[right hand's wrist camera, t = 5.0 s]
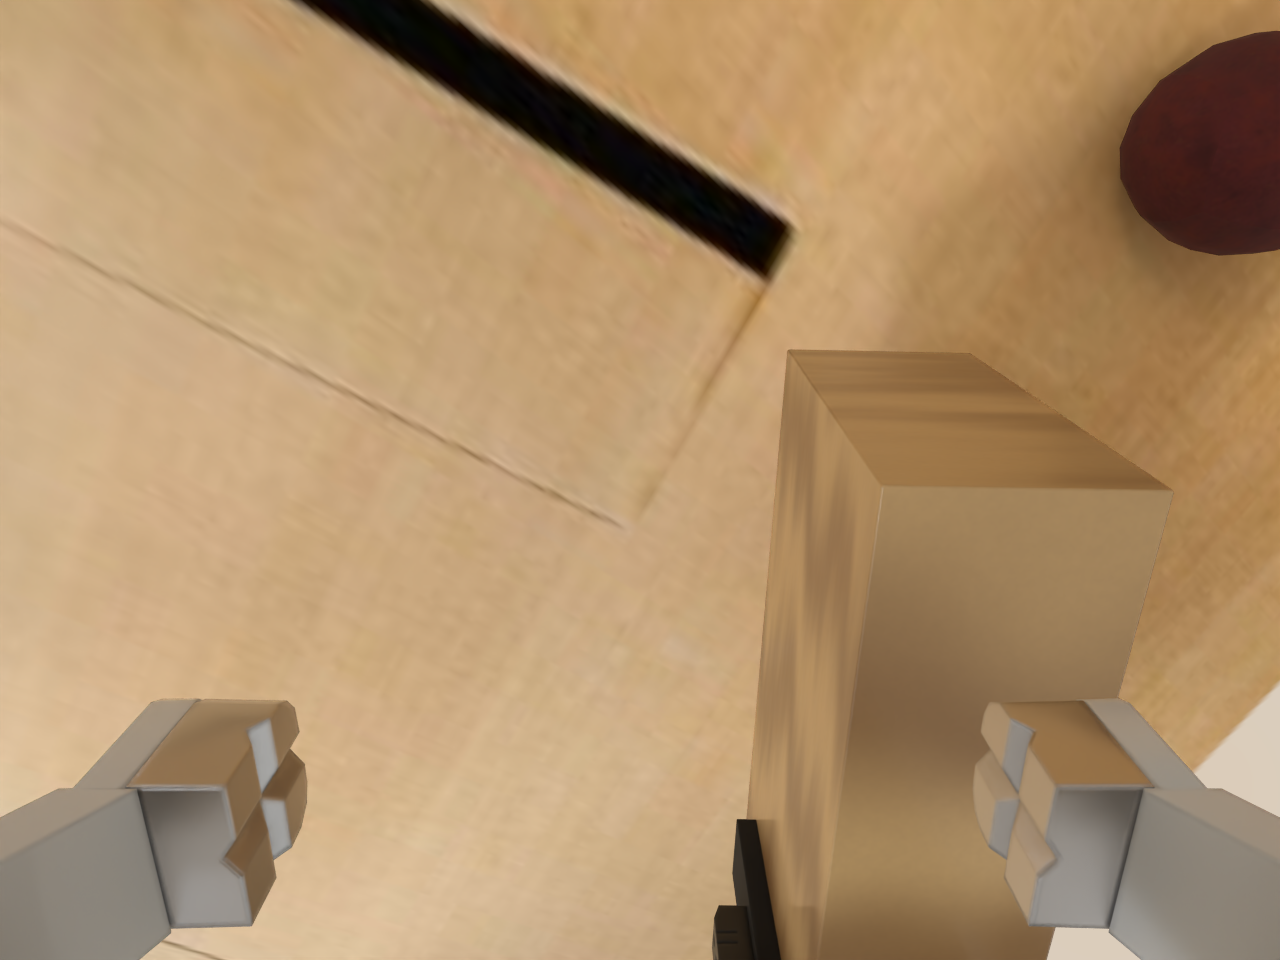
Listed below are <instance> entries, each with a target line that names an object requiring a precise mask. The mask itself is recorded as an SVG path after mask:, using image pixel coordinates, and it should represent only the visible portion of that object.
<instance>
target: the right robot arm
mask: <svg viewBox="0 0 1280 960" xmlns="http://www.w3.org/2000/svg"><path fill="white" fill-rule="evenodd" d="M298 734H299V727H298V722H297V717H296V712H295V708H294V707H293V706H292V705H291V704H290V703H289V702H288V701H276V700H229V699H204V700H201V699H161V700H157V701H154V702H151V703H150V704H149V705H148V706H147V707H146V708H145V709H144V710H143V712H142V713H141V714H140V715H139V716H138V717H137V718H136V719H135V720H134V722H133V723H132V724H131V725H130V726H129V727H128V728H127V729H126V730H125V731H124V733H123V734H122V735H121V736H120V737H119V738H118V739H117V740H116V741H115V742H114V744H113V745H112V746H111V747H110V748H109V749H108V750H107V751H106V752H105V753H104V755H103V756H102V757H101V758H100V759H99V760H98V761H97V762H96V763H95V764H94V766H93V767H92V768H91V769H90V770H89V771H88V772H87V773H86V774H85V776H84V777H83V778H82V779H81V780H80V781H79V782H78V783H77V784H76V785H75V787H74V788H73V789H57V790H55V791H53V792H51V793H49V794H47V795H45V796H43V797H41V798H39V799H37V800H35V801H33V802H31V803H29V804H27V805H24V806H22V807H20V808H18V809H16V810H14V811H12V812H10V813H8V814H6V815H4V816H2V817H0V960H139V959H141V958H142V957H143V956H144V955H145V954H147V953H148V952H149V951H150V950H151V949H153V948H154V947H155V946H156V945H157V944H159V943H160V942H161V941H162V940H163V939H165V938H166V937H167V936H168V935H169V934H171V929H173V928H208V927H242V926H252V924H253V922H254V921H255V919H256V917H257V915H258V913H259V911H260V909H261V907H262V905H263V903H264V901H265V899H266V897H267V895H268V893H269V891H270V889H271V887H272V885H273V883H274V881H275V879H276V873H275V867H274V861H273V860H274V859H276V858H277V857H279V856H280V855H281V854H283V853H284V852H286V851H287V850H289V849H290V848H291V847H292V846H293V844H294V842H295V839H296V837H297V835H298V833H299V831H300V829H301V826H302V822H303V817H304V813H305V808H306V804H307V777H306V770H305V764H304V763H303V762H302V761H301V760H300V759H299V758H298V757H297V756H296V755H295V754H294V752H293V751H292V750H291V749H290V747H291V746H292V744H293V742H294V741H295V739H296V737H297V735H298ZM981 734H982V735H983V737H984V739H985V740H986V742H987V744H988V746H989V747H990V749H989V750H988V752H987V753H986V754H985V755H984V756H983V757H982V758H981V759H980V760H979V761H978V762H977V763H976V764H975V771H974V780H973V799H974V810H975V815H976V818H977V822H978V825H979V828H980V831H981V833H982V835H983V837H984V839H985V841H986V844H987V846H988V847H989V848H990V849H992V850H993V851H994V852H996V853H997V854H999V855H1000V856H1001V857H1003V858H1004V859H1006V860H1007V861H1006V867H1005V873H1004V879H1005V881H1006V883H1007V885H1008V887H1009V889H1010V891H1011V893H1012V895H1013V897H1014V899H1015V901H1016V903H1017V905H1018V907H1019V909H1020V911H1021V912H1022V914H1023V916H1024V918H1025V920H1026V922H1027V924H1028V926H1036V927H1072V928H1107V929H1109V933H1110V934H1111V935H1112V936H1114V937H1115V938H1116V939H1117V940H1118V941H1120V942H1121V943H1122V944H1123V945H1124V946H1126V947H1127V948H1128V949H1129V950H1130V951H1132V952H1133V953H1134V954H1135V955H1136V956H1137V957H1139V958H1140V959H1141V960H1280V817H1278V816H1276V815H1274V814H1272V813H1270V812H1267V811H1266V810H1263V809H1261V808H1259V807H1257V806H1255V805H1253V804H1251V803H1249V802H1247V801H1245V800H1243V799H1241V798H1239V797H1237V796H1235V795H1233V794H1231V793H1229V792H1227V791H1225V790H1223V789H1207V788H1206V787H1205V785H1204V784H1203V783H1202V782H1201V781H1200V780H1199V779H1198V778H1197V777H1196V775H1195V774H1194V773H1193V772H1192V771H1191V770H1190V769H1189V768H1188V767H1187V766H1186V764H1185V763H1184V762H1183V761H1182V760H1181V759H1180V758H1179V757H1178V756H1177V755H1176V753H1175V752H1174V751H1173V750H1172V749H1171V748H1170V747H1169V746H1168V745H1167V743H1166V742H1165V741H1164V740H1163V739H1162V738H1161V737H1160V736H1159V735H1158V734H1157V732H1156V731H1155V730H1154V729H1153V728H1152V727H1151V726H1150V725H1149V724H1148V723H1147V721H1146V720H1145V719H1144V718H1143V717H1142V716H1141V715H1140V714H1139V713H1138V712H1137V710H1136V709H1135V708H1134V707H1133V706H1132V705H1131V704H1130V703H1128V702H1126V701H1124V700H1122V699H1120V698H1110V699H1080V700H1075V701H1015V702H989V704H988V706H987V708H986V710H985V712H984V715H983V721H982V726H981Z"/></svg>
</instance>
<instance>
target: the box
mask: <svg viewBox="0 0 1280 960" xmlns="http://www.w3.org/2000/svg"><path fill="white" fill-rule="evenodd" d="M1173 494H1174V492H1173V490H1172V489H1170V488H1169V487H1167V486H1166V485H1164V484H1163V483H1161V482H1160V481H1158V480H1157V479H1155V478H1154V477H1152V476H1151V475H1149V474H1148V473H1146V472H1145V471H1143V470H1142V469H1141V468H1139V467H1138V466H1136V465H1135V464H1133V463H1132V462H1130V461H1129V460H1127V459H1126V458H1124V457H1123V456H1121V455H1120V454H1118V453H1117V452H1115V451H1114V450H1112V449H1111V448H1109V447H1108V446H1106V445H1105V444H1103V443H1102V442H1101V441H1099V440H1098V439H1096V438H1095V437H1093V436H1092V435H1090V434H1089V433H1087V432H1086V431H1084V430H1083V429H1081V428H1080V427H1078V426H1077V425H1075V424H1074V423H1072V422H1071V421H1069V420H1068V419H1066V418H1065V417H1063V416H1062V415H1061V414H1059V413H1058V412H1056V411H1055V410H1053V409H1052V408H1050V407H1049V406H1047V405H1046V404H1044V403H1043V402H1041V401H1040V400H1038V399H1037V398H1035V397H1034V396H1032V395H1031V394H1029V393H1028V392H1026V391H1025V390H1024V389H1022V388H1021V387H1019V386H1018V385H1016V384H1015V383H1013V382H1012V381H1010V380H1009V379H1007V378H1006V377H1004V376H1003V375H1001V374H1000V373H998V372H997V371H995V370H994V369H992V368H991V367H989V366H988V365H986V364H985V363H984V362H982V361H981V360H979V359H978V358H976V357H975V356H973V355H972V354H970V353H930V352H881V351H833V350H788V351H787V362H786V373H785V385H784V396H783V408H782V419H781V431H780V442H779V454H778V465H777V477H776V488H775V499H774V511H773V522H772V534H771V545H770V557H769V568H768V580H767V591H766V603H765V614H764V625H763V637H762V648H761V660H760V671H759V683H758V694H757V706H756V717H755V729H754V740H753V752H752V763H751V774H750V786H749V797H748V809H747V819H755V820H756V821H757V827H758V832H759V838H760V844H761V849H762V855H763V860H764V866H765V872H766V877H767V883H768V889H769V894H770V900H771V905H772V911H773V917H774V922H775V928H776V934H777V939H778V945H779V950H780V956H781V960H1047V956H1048V953H1049V949H1050V945H1051V942H1052V938H1053V934H1054V931H1055V927H1036V926H1028V924H1027V922H1026V920H1025V918H1024V916H1023V914H1022V912H1021V911H1020V909H1019V907H1018V905H1017V903H1016V901H1015V899H1014V897H1013V895H1012V893H1011V891H1010V889H1009V887H1008V885H1007V883H1006V881H1005V879H1004V873H1005V867H1006V861H1007V860H1006V859H1004V858H1003V857H1001V856H1000V855H999V854H997V853H996V852H994V851H993V850H992V849H990V848H989V847H988V846H987V844H986V841H985V839H984V837H983V835H982V833H981V831H980V828H979V825H978V822H977V818H976V815H975V810H974V799H973V780H974V771H975V764H976V763H977V762H978V761H979V760H980V759H981V758H982V757H983V756H984V755H985V754H986V753H987V752H988V750H989V749H990V747H989V746H988V744H987V742H986V740H985V739H984V737H983V735H982V734H981V726H982V721H983V715H984V712H985V710H986V708H987V706H988V704H989V702H1015V701H1075V700H1080V699H1110V698H1118V696H1119V692H1120V688H1121V685H1122V681H1123V677H1124V674H1125V670H1126V666H1127V663H1128V659H1129V655H1130V652H1131V648H1132V644H1133V641H1134V637H1135V633H1136V630H1137V626H1138V622H1139V618H1140V615H1141V611H1142V607H1143V604H1144V600H1145V596H1146V593H1147V589H1148V585H1149V582H1150V578H1151V574H1152V571H1153V567H1154V563H1155V560H1156V556H1157V552H1158V549H1159V545H1160V541H1161V538H1162V534H1163V530H1164V527H1165V523H1166V519H1167V516H1168V512H1169V508H1170V505H1171V501H1172V497H1173Z"/></svg>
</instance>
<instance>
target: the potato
mask: <svg viewBox="0 0 1280 960" xmlns="http://www.w3.org/2000/svg"><path fill="white" fill-rule="evenodd" d="M1120 173H1121V180H1122V182H1123V184H1124V187H1125V189H1126V191H1127V193H1128V195H1129V197H1130V199H1131V201H1132V203H1133V205H1134V207H1135V208H1136V210H1137V211H1138V213H1139V214H1140V216H1142V217H1143V218H1144V219H1145V220H1146V221H1147V222H1148V223H1149V224H1151V225H1152V226H1153V227H1154V228H1155V229H1156V230H1157V231H1159V232H1160V233H1161V234H1162V235H1163V236H1164V237H1165V238H1166V239H1168V240H1169V241H1171V242H1174V243H1176V244H1178V245H1181V246H1183V247H1185V248H1188V249H1190V250H1194V251H1199V252H1204V253H1209V254H1214V255H1235V254H1253V253H1260V252H1267V251H1274V250H1278V249H1280V31H1271V32H1261V33H1254V34H1250V35H1247V36H1244V37H1240V38H1237V39H1233V40H1230V41H1226V42H1223V43H1219V44H1216V45H1213V46H1212V47H1210V48H1208V49H1207V50H1205V51H1204V52H1202V53H1201V54H1199V55H1198V56H1196V57H1195V58H1193V59H1192V60H1190V61H1189V62H1187V63H1186V64H1184V65H1183V66H1181V67H1180V68H1178V69H1177V70H1175V71H1174V72H1172V73H1171V74H1169V75H1168V76H1166V77H1165V78H1163V79H1162V80H1161V81H1159V83H1158V84H1157V85H1156V86H1155V88H1154V89H1153V90H1152V91H1151V93H1150V94H1149V95H1148V96H1147V98H1146V99H1145V100H1144V102H1143V103H1142V104H1141V105H1140V107H1139V108H1138V109H1137V110H1136V112H1135V113H1134V114H1133V116H1132V118H1131V120H1130V123H1129V126H1128V128H1127V131H1126V134H1125V136H1124V139H1123V141H1122V144H1121V146H1120Z"/></svg>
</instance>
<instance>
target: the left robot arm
mask: <svg viewBox="0 0 1280 960" xmlns="http://www.w3.org/2000/svg"><path fill="white" fill-rule="evenodd" d="M733 881H734V888H735V896H736V903H737V906H725V905H719V906H718V909H717V912H716V914H715V917H714V929H713V942H712V951H713V960H781V956H780V950H779V945H778V939H777V934H776V928H775V922H774V917H773V911H772V905H771V900H770V894H769V889H768V883H767V877H766V872H765V866H764V860H763V855H762V849H761V844H760V838H759V832H758V827H757V821H756V820H755V819H737V824H736V836H735V849H734V861H733Z"/></svg>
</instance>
